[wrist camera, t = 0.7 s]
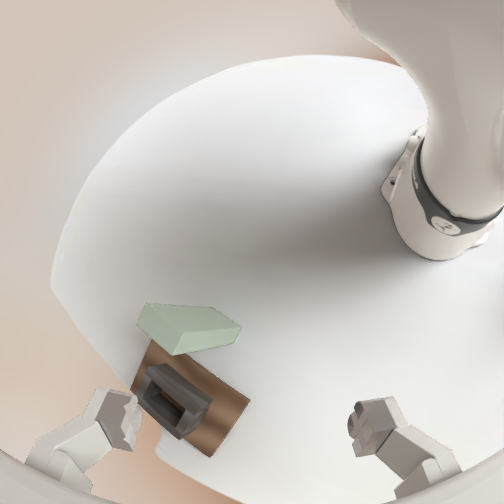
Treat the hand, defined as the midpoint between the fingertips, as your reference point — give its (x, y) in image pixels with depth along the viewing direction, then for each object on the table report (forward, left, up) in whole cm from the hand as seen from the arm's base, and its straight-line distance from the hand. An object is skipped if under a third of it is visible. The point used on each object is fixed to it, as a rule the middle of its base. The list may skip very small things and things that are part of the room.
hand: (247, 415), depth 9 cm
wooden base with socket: (+22, -15, -31) cm, 41 cm away
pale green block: (+7, -15, -31) cm, 36 cm away
